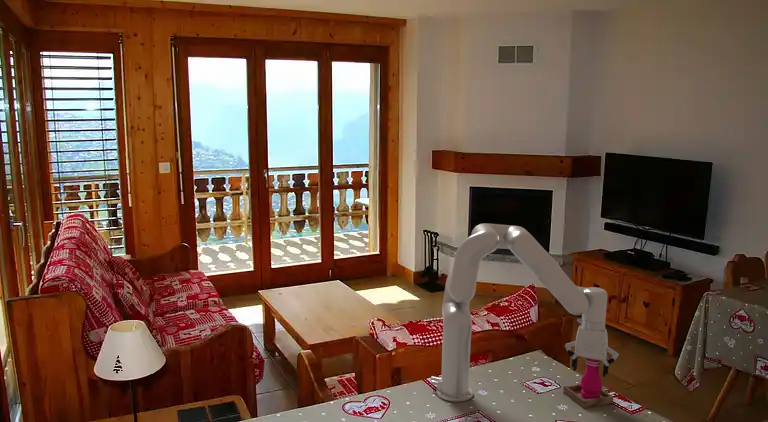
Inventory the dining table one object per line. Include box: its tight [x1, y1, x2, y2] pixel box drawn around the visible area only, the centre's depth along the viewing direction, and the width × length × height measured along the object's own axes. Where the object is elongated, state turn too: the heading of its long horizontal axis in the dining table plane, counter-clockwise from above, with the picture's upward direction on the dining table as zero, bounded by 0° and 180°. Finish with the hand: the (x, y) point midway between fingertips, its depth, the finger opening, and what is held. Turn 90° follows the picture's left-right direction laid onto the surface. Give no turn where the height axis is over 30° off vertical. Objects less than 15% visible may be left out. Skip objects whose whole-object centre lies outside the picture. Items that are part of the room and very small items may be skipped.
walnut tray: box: [563, 383, 614, 409], centre depth 205 cm, size 12×12×3 cm
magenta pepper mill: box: [579, 357, 603, 399], centre depth 204 cm, size 7×7×20 cm
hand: (589, 372), depth 204 cm, fingers open, 9 cm apart
